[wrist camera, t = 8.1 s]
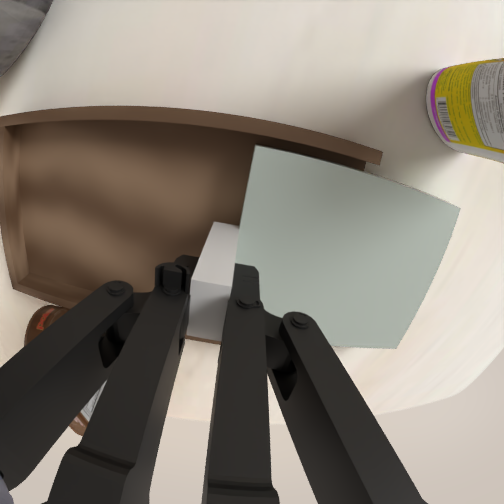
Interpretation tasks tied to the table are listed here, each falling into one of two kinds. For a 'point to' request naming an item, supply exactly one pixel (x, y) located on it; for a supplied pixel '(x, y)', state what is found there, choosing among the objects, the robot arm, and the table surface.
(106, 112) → the walnut case
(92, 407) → the tin
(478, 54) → the table surface
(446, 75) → the supplement bottle
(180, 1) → the table surface
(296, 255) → the cover plate
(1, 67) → the vase
